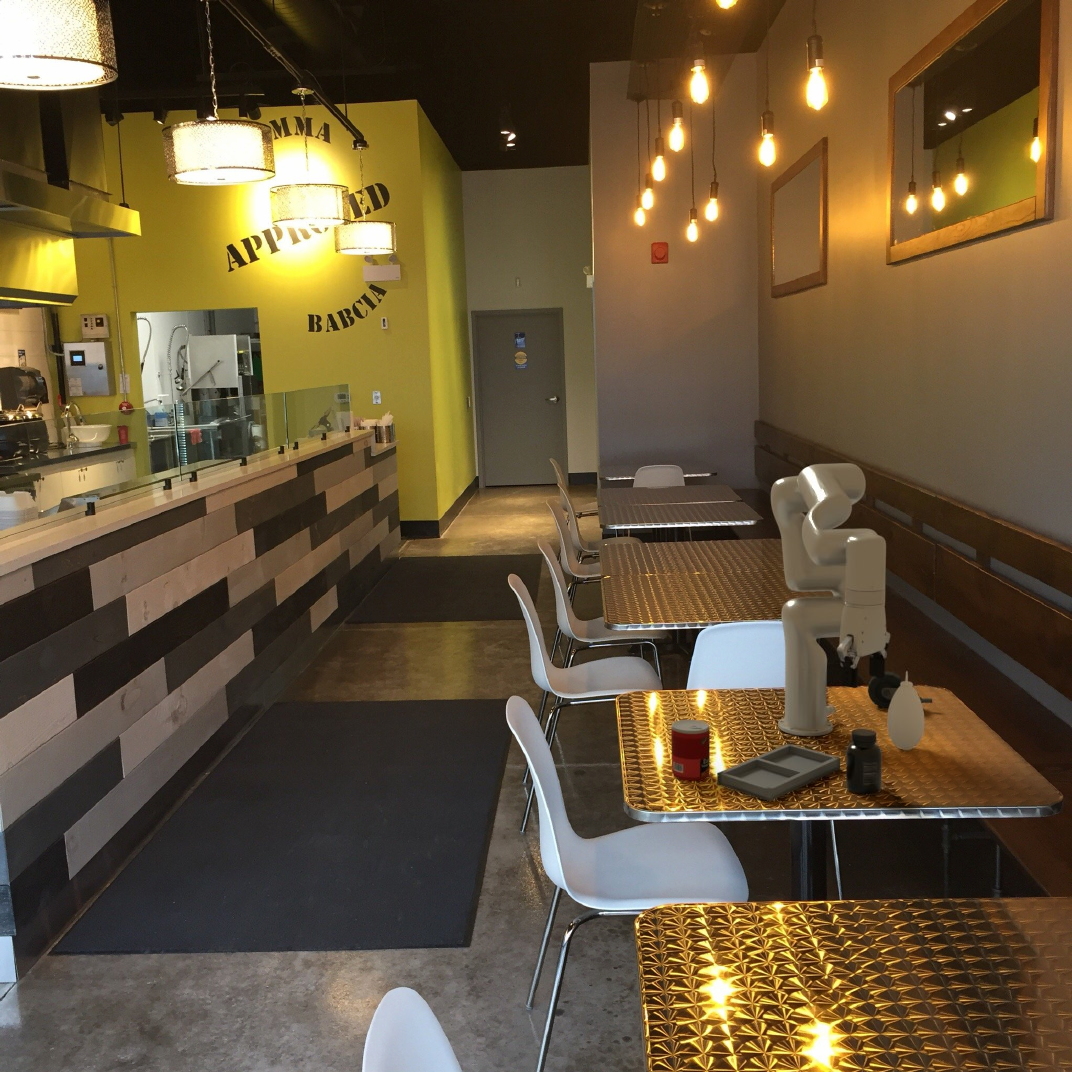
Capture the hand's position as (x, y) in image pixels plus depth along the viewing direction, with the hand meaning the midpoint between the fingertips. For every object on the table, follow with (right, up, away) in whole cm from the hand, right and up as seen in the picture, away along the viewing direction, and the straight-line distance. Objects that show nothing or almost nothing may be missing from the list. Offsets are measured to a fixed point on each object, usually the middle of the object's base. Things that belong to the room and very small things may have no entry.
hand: (863, 681), depth 211 cm
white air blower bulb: (+17, -19, +25) cm, 36 cm away
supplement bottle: (+1, -22, +3) cm, 23 cm away
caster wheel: (+26, -14, +54) cm, 62 cm away
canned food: (-32, -22, +14) cm, 41 cm away
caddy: (-14, -22, +11) cm, 28 cm away
